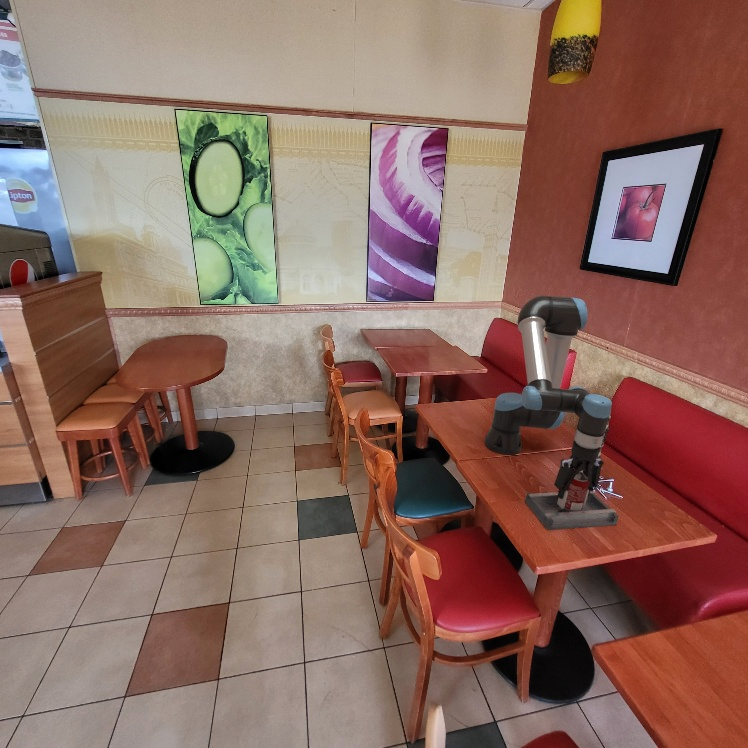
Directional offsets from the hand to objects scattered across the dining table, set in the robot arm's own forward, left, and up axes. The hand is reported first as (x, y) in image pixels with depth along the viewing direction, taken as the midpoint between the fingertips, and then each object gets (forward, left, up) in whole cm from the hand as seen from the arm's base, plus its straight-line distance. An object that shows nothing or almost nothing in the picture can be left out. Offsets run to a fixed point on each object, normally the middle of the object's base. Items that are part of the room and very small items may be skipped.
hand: (570, 505), depth 132 cm
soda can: (0, 0, -1) cm, 1 cm away
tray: (0, 0, -3) cm, 3 cm away
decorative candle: (-25, +24, -3) cm, 35 cm away
